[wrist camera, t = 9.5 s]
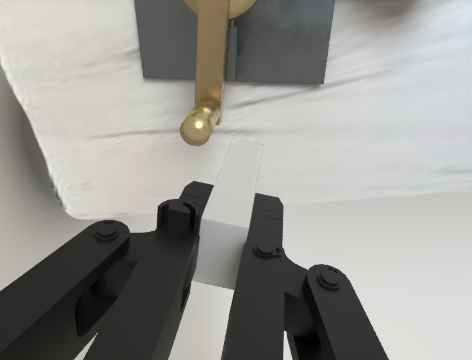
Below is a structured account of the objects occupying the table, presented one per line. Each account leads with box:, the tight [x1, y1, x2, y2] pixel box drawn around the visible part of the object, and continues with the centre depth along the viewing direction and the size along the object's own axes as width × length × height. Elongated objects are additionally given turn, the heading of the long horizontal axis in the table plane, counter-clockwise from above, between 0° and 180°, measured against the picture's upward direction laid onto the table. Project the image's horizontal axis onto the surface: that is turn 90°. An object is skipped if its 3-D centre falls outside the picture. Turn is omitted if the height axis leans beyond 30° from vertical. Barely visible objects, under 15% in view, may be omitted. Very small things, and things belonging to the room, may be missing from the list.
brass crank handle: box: [180, 0, 256, 146], centre depth 28 cm, size 19×8×11 cm, turn 175°
